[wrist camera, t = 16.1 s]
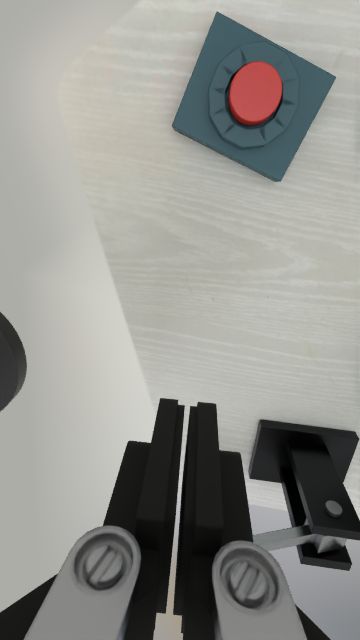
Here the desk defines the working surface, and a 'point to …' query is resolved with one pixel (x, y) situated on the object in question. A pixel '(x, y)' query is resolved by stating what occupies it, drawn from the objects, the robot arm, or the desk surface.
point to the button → (255, 93)
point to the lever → (297, 539)
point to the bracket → (310, 482)
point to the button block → (213, 100)
